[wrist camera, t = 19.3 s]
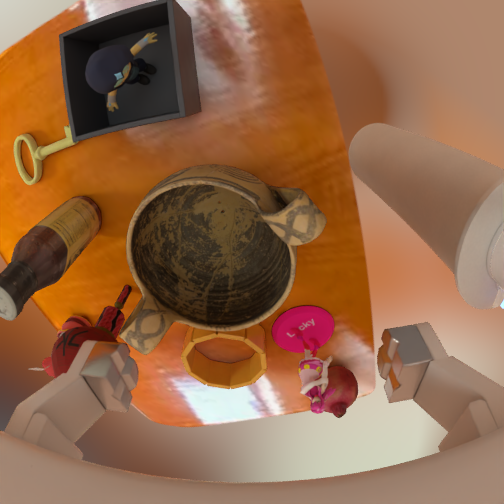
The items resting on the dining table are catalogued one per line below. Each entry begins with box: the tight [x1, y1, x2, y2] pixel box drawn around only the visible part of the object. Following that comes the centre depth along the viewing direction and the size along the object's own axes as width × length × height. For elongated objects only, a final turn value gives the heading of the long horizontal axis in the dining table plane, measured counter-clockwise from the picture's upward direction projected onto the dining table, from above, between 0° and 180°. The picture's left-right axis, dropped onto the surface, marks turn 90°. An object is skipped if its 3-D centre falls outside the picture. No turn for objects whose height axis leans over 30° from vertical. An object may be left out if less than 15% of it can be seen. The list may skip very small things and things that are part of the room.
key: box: [14, 125, 78, 185], centre depth 31 cm, size 7×12×2 cm, turn 117°
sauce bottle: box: [0, 196, 101, 320], centre depth 29 cm, size 7×6×20 cm
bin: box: [59, 0, 201, 143], centre depth 25 cm, size 12×12×8 cm
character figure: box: [85, 32, 157, 112], centre depth 23 cm, size 9×4×12 cm, turn 147°
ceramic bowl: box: [119, 165, 327, 355], centre depth 31 cm, size 22×17×15 cm
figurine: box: [272, 306, 336, 413], centre depth 40 cm, size 10×10×15 cm
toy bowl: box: [181, 324, 267, 389], centre depth 45 cm, size 12×13×5 cm
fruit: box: [315, 366, 358, 418], centre depth 47 cm, size 8×8×10 cm
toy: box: [32, 315, 91, 378], centre depth 40 cm, size 5×8×15 cm
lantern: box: [51, 285, 132, 378], centre depth 30 cm, size 10×10×30 cm
